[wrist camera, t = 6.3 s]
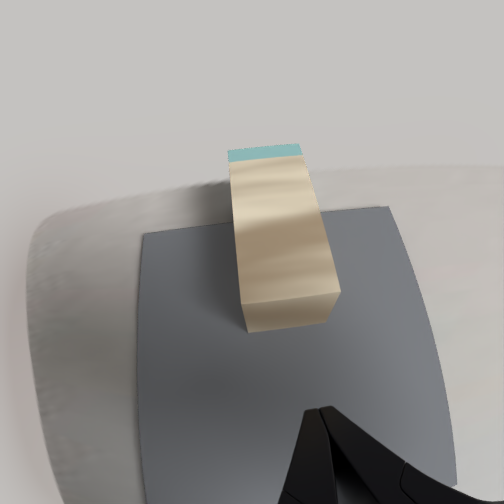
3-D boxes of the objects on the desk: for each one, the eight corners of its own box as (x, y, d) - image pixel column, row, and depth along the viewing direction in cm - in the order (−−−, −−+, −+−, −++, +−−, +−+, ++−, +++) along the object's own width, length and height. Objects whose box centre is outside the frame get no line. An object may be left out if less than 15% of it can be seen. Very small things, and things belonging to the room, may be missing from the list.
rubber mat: (452, 483, 10) (457, 484, 10) (155, 531, 10) (151, 534, 10) (386, 210, 20) (388, 206, 19) (146, 238, 20) (143, 233, 19)
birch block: (341, 291, 12) (298, 143, 17) (241, 304, 12) (227, 150, 17) (325, 322, 16) (295, 190, 20) (248, 332, 16) (234, 196, 20)
